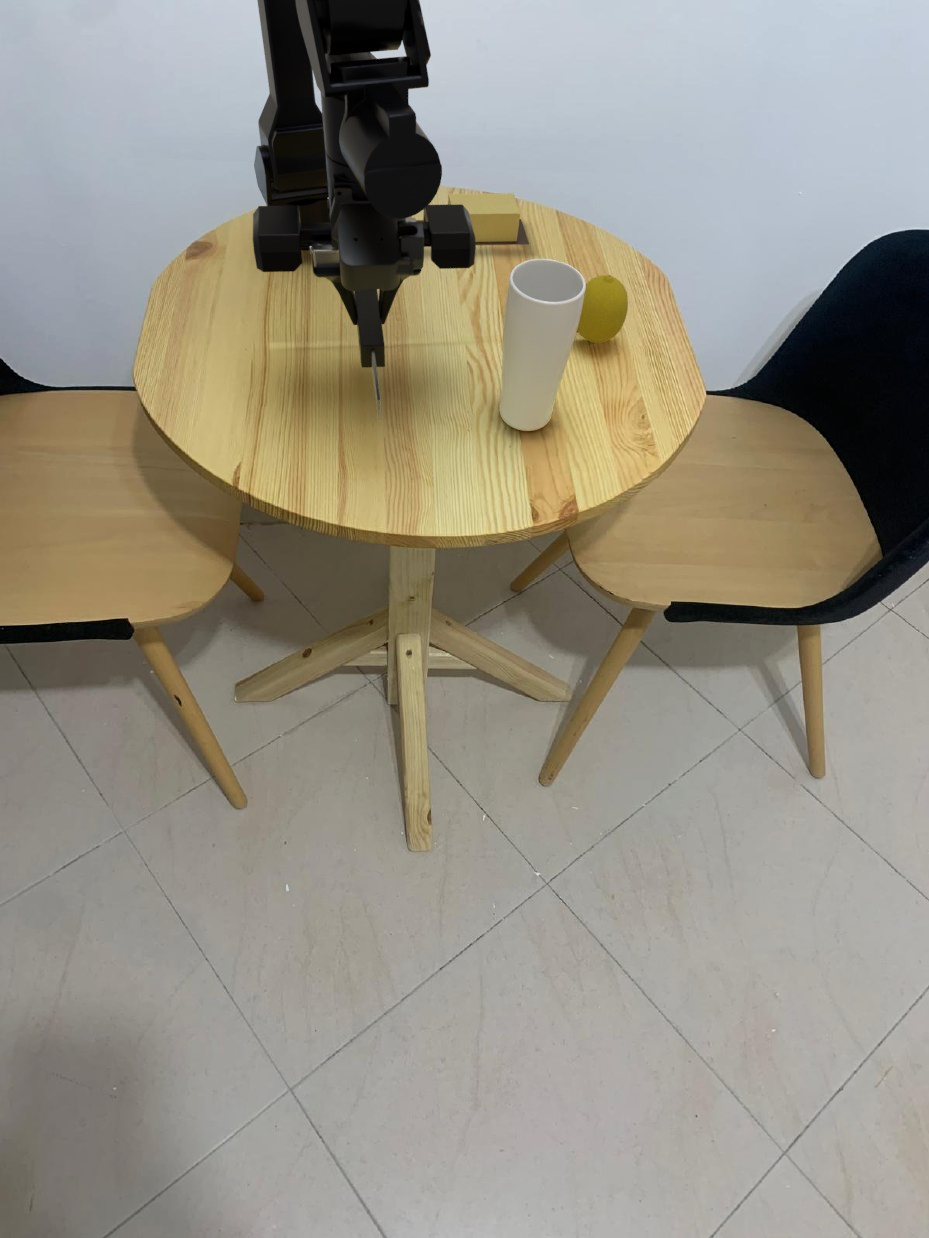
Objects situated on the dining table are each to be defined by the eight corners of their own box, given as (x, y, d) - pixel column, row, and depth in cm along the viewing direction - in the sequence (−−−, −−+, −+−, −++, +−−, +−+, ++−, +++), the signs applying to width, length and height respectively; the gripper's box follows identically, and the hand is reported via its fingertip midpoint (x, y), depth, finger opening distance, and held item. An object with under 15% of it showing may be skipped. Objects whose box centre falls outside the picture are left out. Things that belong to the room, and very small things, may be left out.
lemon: (620, 360, 84) (638, 294, 78) (569, 356, 84) (584, 290, 77) (615, 328, 87) (633, 262, 81) (567, 325, 87) (580, 258, 80)
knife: (366, 419, 68) (365, 397, 66) (355, 309, 77) (353, 287, 75) (391, 418, 68) (391, 396, 66) (377, 309, 77) (376, 287, 75)
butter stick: (451, 242, 93) (453, 214, 90) (447, 222, 95) (448, 193, 92) (516, 241, 94) (520, 213, 91) (510, 221, 96) (513, 193, 94)
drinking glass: (499, 442, 76) (518, 306, 64) (485, 396, 80) (500, 259, 67) (565, 436, 77) (597, 301, 65) (548, 390, 81) (575, 255, 68)
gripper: (238, 206, 55) (269, 382, 68) (493, 204, 58) (476, 374, 71) (241, 131, 61) (268, 305, 74) (472, 132, 64) (460, 300, 77)
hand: (368, 322), depth 74 cm, fingers closed on knife, 2 cm apart
